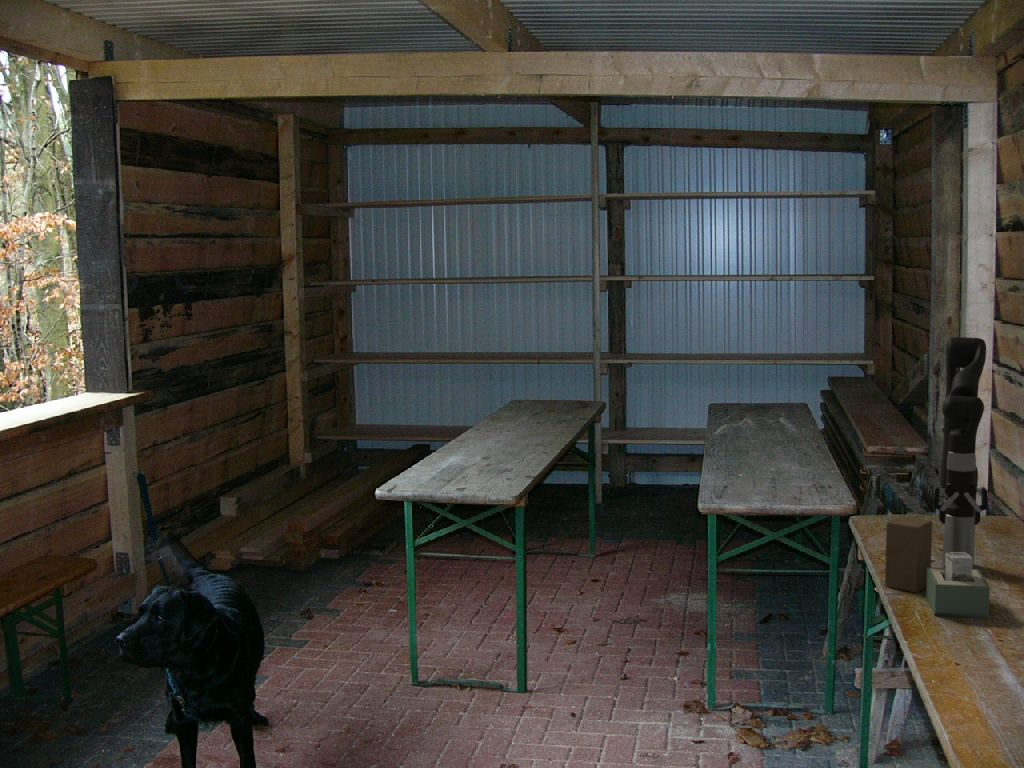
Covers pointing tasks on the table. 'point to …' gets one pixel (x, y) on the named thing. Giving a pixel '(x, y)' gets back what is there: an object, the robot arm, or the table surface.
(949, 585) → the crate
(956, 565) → the syrup box
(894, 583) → the wooden block
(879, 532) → the table surface
